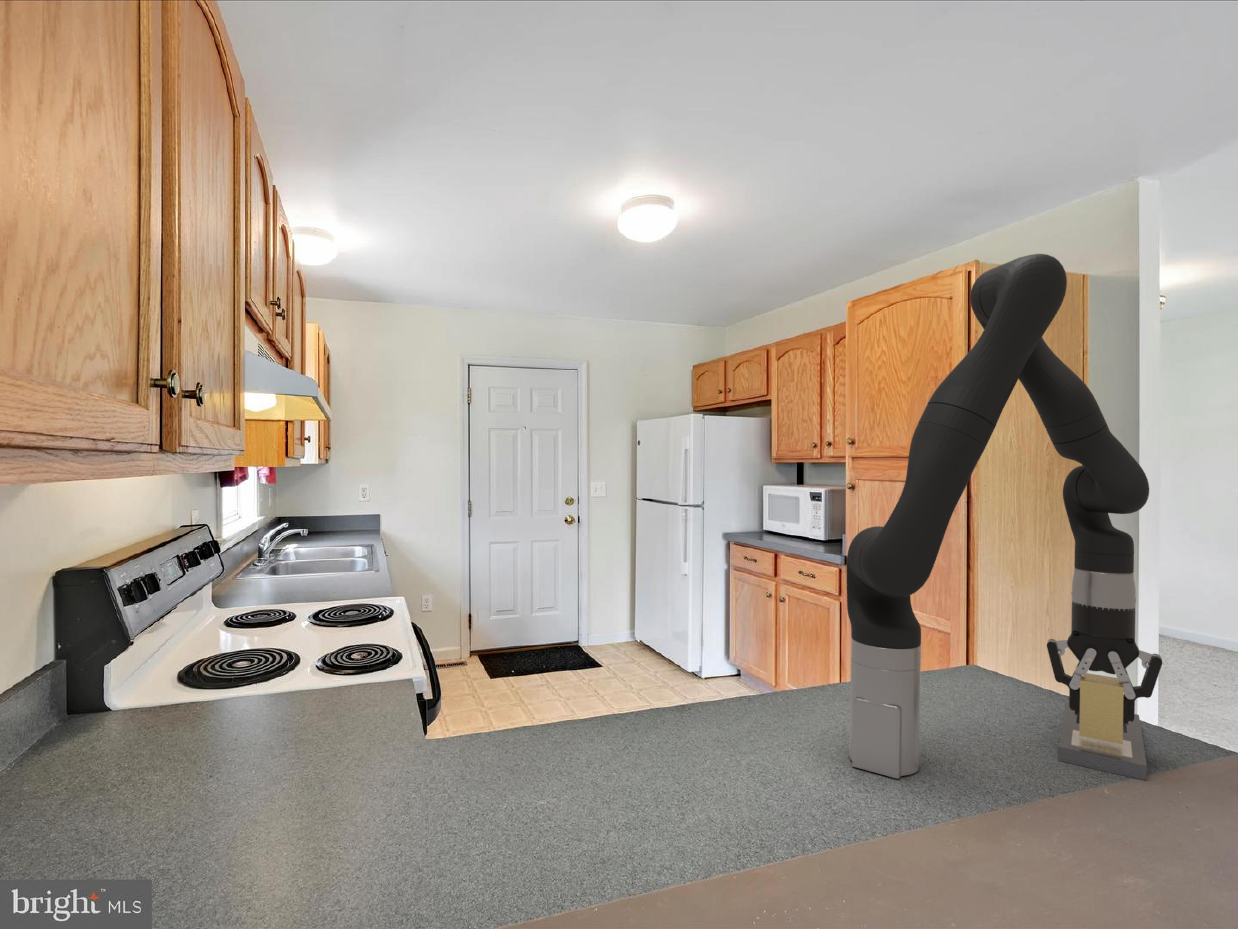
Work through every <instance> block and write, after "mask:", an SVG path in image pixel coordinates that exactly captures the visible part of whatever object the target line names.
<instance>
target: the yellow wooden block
mask: <svg viewBox="0 0 1238 929" xmlns="http://www.w3.org/2000/svg"><path fill="white" fill-rule="evenodd" d="M1123 690H1124V687H1123V685H1120V683H1119V680H1118V678H1117V677H1113V676H1108V675H1107V676H1106V675H1103V674H1102V675H1101V674H1095V673H1089V672H1087V673H1086V675H1085V677H1084V679H1083V678H1080V728H1079V736H1084V737H1088V738H1093V739H1098V740H1103V741H1108V742H1113V743H1117V744H1122V745H1123V695H1124V692H1123Z"/></svg>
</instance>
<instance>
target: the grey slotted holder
mask: <svg viewBox="0 0 1238 929" xmlns="http://www.w3.org/2000/svg"><path fill="white" fill-rule="evenodd" d="M1060 728H1061V729H1060V733H1059V739H1058V740H1059V741H1058V746H1057V747H1058V748H1057V749H1058V750H1057V761H1058V762H1063V763H1067V764H1071V765H1076V766H1080V767H1085V768H1090V769H1094V770H1099V771H1102V772H1106V773H1107V772H1108V773H1110V774H1116V775H1120V776H1125V777H1129V778H1133V779H1137V780H1142V781H1146V782H1147V780H1148V779H1147V777H1148V763H1147V759H1146V758H1147V757H1146V751H1145V746H1144V739H1143V732H1142V726H1141V720H1140V715H1139V714H1137V713H1135V719H1134V720H1133V722H1132V721H1128V725H1125V724H1123V745H1122V744H1117V743H1113V742H1108V741H1103V740H1098V739H1093V738H1088V737H1084V736H1079V728H1080V716H1079V715H1075V711H1074V710H1071V709H1070V707H1069V701H1066V700H1065V702H1064V708H1063V717H1062V721H1061V727H1060Z"/></svg>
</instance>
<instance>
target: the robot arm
mask: <svg viewBox="0 0 1238 929" xmlns="http://www.w3.org/2000/svg"><path fill="white" fill-rule="evenodd" d="M1067 279H1068V278H1067V272H1066V270H1065V268H1064V265H1063V264H1062V263H1061V262H1060V260H1058V259H1057V258H1056V257H1054V256H1052V255H1049V254H1045V253H1033V254H1028V255H1024V256H1020V257H1017V258H1015V259H1013V260H1010V261H1008V262H1005V263H1003V264H1001V265H998V266H995V267H992V268H990V269H988V270H987V271H984V272H983V273H981V274H980V275H979V277H977V278H976V280H975V281H974V282H973V285H972V288H971V289H970V295H969V300H970V307H971V309H972V312H973V314H974V317H975V318H976V319H977V321H978V322H979V324H980V326H981V327H982V329H983V331H982V332H981V335H980V337H979V338H978V339H977V341H976V343H975V344H974V345H973V347H972V348H971V349H970V350H969V351H968V353H966V355H965V356H964V357H963V358H962V359H961V360H960V361H959V363H958V364H957V365H956V366H955V367H954V368H953V369H952V370H951V371H950V372H949V373H948V375H947V376H945V378H944V379H943V380H942V381H941V383H940V384H939V386H938V387H936V389H935V390H934V392H933V393H932V395H931V397H930V398H929V400H928V402H927V405H926V406H925V408H924V410H923V413H922V414H921V417H920V418H919V420H918V422H917V424H916V427H915V430H914V432H913V434H912V437H911V442H910V446H909V453H908V459H907V460H908V461H907V469H906V476H905V481H904V485H903V488H902V491H901V494H900V496H899V498H898V501H897V503H896V504H895V506H894V508H893V510H892V512H891V514H890V516H889V517H888V519H887V521H886V523H885V524H884V525H883V526H877V525H876V526H871V527H868V528H864V529H863V530H861V531H860V532H858V533H857V534H856V535H855V536H854V537H853V538H852V540H851V542H850V545H849V547H848V549H847V556H846V568H845V569H846V571H845V572H846V610H847V615H848V619H849V623H850V632H851V634H850V638H851V640H850V642H851V643H850V683H849V684H850V685H849V686H850V688H849V690H850V691H849V695H850V696H849V698H850V699H849V700H850V701H849V746H848V747H849V749H848V750H849V754H848V755H849V756H848V757H849V759H850V760H851V763H852V764H851V766H852V767H853V768H857V769H861V770H865V771H868V772H872V773H876V774H879V775H883V776H887V777H888V778H889V777H890V778H893V779H900V778H901V777H903V776H910V775H913V774H916V773H917V772H918V771H919V770H920V741H921V740H920V733H921V732H920V731H921V730H920V728H921V726H920V724H921V722H920V721H921V719H920V718H921V668H922V666H921V665H922V664H921V663H922V662H921V660H922V628H921V624H920V623H919V621H918V619H917V617H916V614H915V613H914V609H913V606H912V601H911V600H912V599H911V595H914V594H915V593H916V592H919V590H920V589H921V588H923V586H925V583H926V582H927V581H928V580H929V578H930V576H931V573H932V571H933V569H934V567H935V563H936V560H937V558H938V555H939V551H940V548H941V546H942V543H943V541H944V538H945V534H946V531H947V530H948V526H949V524H950V521H951V519H952V516H953V514H954V512H955V509H956V507H957V505H958V503H959V501H960V499H961V497H962V495H963V493H964V491H965V489H966V487H967V485H968V483H969V481H970V479H971V477H972V475H973V472H974V470H975V469H976V466H977V464H978V462H979V461H980V459H981V457H982V455H983V453H984V451H985V449H986V447H987V445H988V443H989V441H990V439H991V437H992V435H993V432H994V431H995V428H996V427H997V425H998V422H999V419H1000V417H1001V415H1002V413H1003V411H1004V409H1005V406H1006V404H1007V403H1008V400H1009V399H1010V396H1011V394H1012V393H1013V390H1014V389H1015V386H1016V385H1017V383H1018V380H1019V382H1020V383H1021V385H1022V387H1023V388H1024V390H1025V391H1026V393H1027V394H1028V396H1029V398H1030V400H1031V402H1032V404H1033V405H1034V407H1035V409H1036V412H1037V413H1038V415H1039V417H1040V420H1041V422H1042V424H1043V426H1044V428H1045V431H1046V432H1047V435H1048V437H1049V438H1050V441H1051V443H1052V445H1053V447H1054V449H1055V450H1056V452H1057V454H1059V456H1060V457H1062V458H1065V459H1067V460H1071V461H1074V462H1076V463H1079V464H1080V465H1079V466H1076V467H1074V468H1073V469H1072V470H1070V471H1069V473H1068V474H1067V476H1066V477H1065V480H1064V483H1063V486H1062V499H1063V504H1064V508H1065V511H1066V515H1067V519H1068V522H1069V526H1070V527H1069V528H1070V530H1071V532H1072V535H1073V539H1074V564H1073V565H1074V567H1073V570H1074V571H1073V576H1072V582H1071V583H1072V584H1071V625H1070V626H1071V628H1070V629H1071V630H1070V632H1071V633H1070V635H1069V636H1068V638H1067V639H1066V640H1065V639H1063V640H1056V639H1053V638H1050V639H1048V640H1047V643H1046V648H1047V653H1048V656H1049V660H1050V664H1051V669H1052V672H1053V676H1054V679H1055V681H1056V682H1057V683H1061V684H1063V685H1065V686H1067V688H1068V689H1069V691H1068V692H1069V694H1068V695H1069V696H1068V698H1069V699H1068V702H1069V707H1070V709H1071V710H1074V711H1075V715H1079V716H1080V678H1083V679H1084V677H1085V675H1086V673H1088V672H1089V671H1091V672H1104V673H1105V674H1110V675H1115V676H1116V678H1118V680H1119V683H1120V685H1123V687H1124V690H1123V724H1125V725H1128V721H1132V722H1133V720H1134V719H1135V714H1136V713H1135V711H1136V710H1135V708H1136V707H1135V706H1136V703H1135V702H1136V700H1137V699H1139V698H1140V699H1141V698H1145V699H1146V698H1148V699H1149V698H1151V697H1152V695H1153V692H1154V688H1155V687H1156V683H1157V680H1158V677H1159V675H1160V672H1161V668H1162V665H1163V658H1162V656H1161V655H1160V654H1158V653H1149V652H1146V651H1143V650H1141V649H1140V648H1139V647H1138V645H1137V643H1136V604H1137V597H1136V596H1137V594H1136V590H1137V589H1136V588H1137V587H1136V583H1135V582H1136V581H1135V574H1134V573H1135V543H1134V539H1133V537H1132V536H1131V535H1130V534H1129V532H1128V533H1127V532H1126V531H1123V530H1119V528H1116V527H1114V525H1113V524H1112V520H1111V519H1110V514H1113V515H1114V514H1116V515H1127V514H1129V515H1130V514H1133V513H1135V512H1139V511H1140V510H1141V509H1142V508H1143V507H1145V505H1146V504H1147V501H1148V499H1149V496H1150V485H1149V484H1150V483H1149V480H1148V479H1149V478H1147V475H1146V473H1145V471H1144V470H1143V467H1142V466H1141V465H1140V463H1139V462H1138V461H1137V460H1136V459H1135V457H1134V456H1133V455H1132V454H1131V453H1130V452H1129V451H1128V449H1126V447H1125V446H1124V444H1122V443H1121V441H1119V439H1118V438H1117V437H1115V435H1114V434H1113V433H1112V432H1111V430H1110V428H1109V426H1108V423H1107V420H1106V419H1105V417H1104V414H1103V412H1102V410H1101V408H1100V405H1099V404H1098V401H1097V399H1096V398H1095V396H1094V394H1093V393H1092V391H1091V389H1090V388H1089V387H1088V386H1087V384H1086V383H1085V382H1084V381H1083V380H1082V379H1081V377H1079V376H1078V375H1077V373H1075V372H1074V371H1073V370H1072V369H1071V368H1069V366H1067V365H1066V364H1065V363H1064V362H1063V361H1062V360H1061V359H1060V358H1059V357H1058V356H1057V355H1056V353H1054V351H1053V350H1052V348H1050V347H1049V346H1048V344H1047V343H1046V341H1045V340H1044V338H1043V336H1044V335H1045V333H1046V331H1047V330H1048V328H1049V327H1050V325H1051V324H1052V322H1053V320H1054V318H1055V317H1056V315H1057V314H1058V312H1059V310H1060V308H1061V306H1062V304H1063V303H1064V300H1065V296H1066V294H1067V293H1066V292H1067V285H1068V280H1067ZM1066 649H1069V650H1070V651H1071V653H1072V654H1073V655H1074V656H1075V658H1076V659H1077V660H1078V663H1077V664H1076V667H1075V669H1074V671H1073V673H1072V675H1070V674H1067V673H1066V671H1065V669H1064V665H1063V664H1064V663H1063V660H1062V657H1061V656H1064V654H1065V652H1066ZM1137 658H1138V659H1140V660H1141V666H1142V667H1143V668H1144V669H1145V672H1144V675H1143V678H1142V681H1141V683H1140V685H1137V686H1133V684H1132V681H1131V679H1130V676H1129V673H1128V671H1127V668H1128V667H1129V666H1130V665H1131V664H1132V663H1133V662H1134V661H1135V660H1136V659H1137Z"/></svg>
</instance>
